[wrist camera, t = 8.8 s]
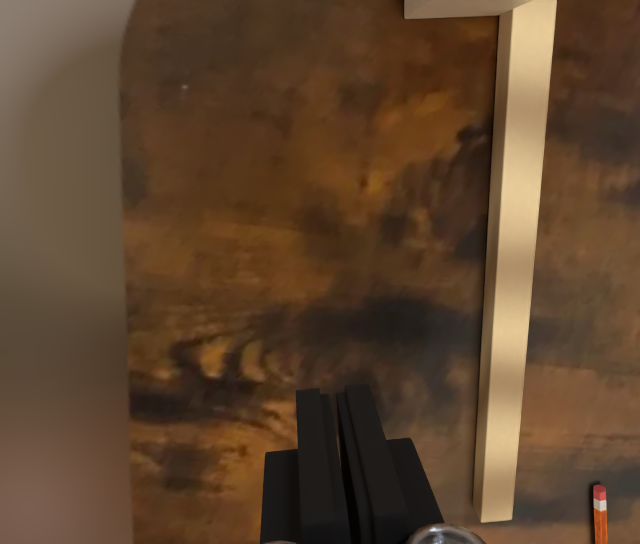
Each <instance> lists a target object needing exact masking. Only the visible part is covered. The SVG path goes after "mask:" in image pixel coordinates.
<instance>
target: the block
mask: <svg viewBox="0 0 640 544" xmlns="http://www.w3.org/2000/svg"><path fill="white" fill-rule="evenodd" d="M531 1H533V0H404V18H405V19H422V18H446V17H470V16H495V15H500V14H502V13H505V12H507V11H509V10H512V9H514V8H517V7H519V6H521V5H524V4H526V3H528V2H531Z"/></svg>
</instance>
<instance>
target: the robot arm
mask: <svg viewBox="0 0 640 544" xmlns="http://www.w3.org/2000/svg"><path fill="white" fill-rule="evenodd" d="M336 401H337V416H338V431H339V445H340V460H341V466H340V460H339V454H338V447H337V441H336V435H335V429H334V422H333V416H332V410H331V403H330V397H329V394H320V391H319V388H316V389H305V390H296V408H297V433H298V449H293V450H283V451H273V452H266V454H265V466H264V483H263V500H262V517H261V534H260V544H486V543H485V542H484V541H483V540H482V539H481V538H480V537H479V536H477V535H476V534H474V533H473V532H471V531H470V530H468V529H465V528H463V527H460V526H458V525H453V524H446V523H445V522H444V520H443V517H442V515H441V512H440V510H439V507H438V505H437V502H436V500H435V497H434V495H433V492H432V489H431V487H430V484H429V482H428V479H427V477H426V474H425V472H424V469H423V467H422V464H421V461H420V459H419V456H418V454H417V451H416V449H415V446H414V444H413V442H412V440H411V439H410V438H402V439H392V440H386V438H385V435H384V432H383V429H382V426H381V422H380V419H379V416H378V413H377V410H376V406H375V403H374V400H373V397H372V394H371V390H370V387H369V384H357V385H347V386H345V392H340V393H336Z"/></svg>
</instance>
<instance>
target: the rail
mask: <svg viewBox="0 0 640 544" xmlns="http://www.w3.org/2000/svg"><path fill="white" fill-rule="evenodd" d="M556 5H557V0H533V1H531V2H528V3H526V4H524V5H521V6H519V7H517V8H514V9H512V10H509V11H507V12H505V13H502V14H500V18H499V36H498V54H497V72H496V90H495V108H494V126H493V145H492V163H491V181H490V199H489V217H488V235H487V253H486V271H485V289H484V308H483V326H482V344H481V362H480V380H479V398H478V416H477V434H476V453H475V471H474V489H473V507H474V509H475V511H476V513H477V515H478V517H479V519H480V522H481V523H483V522H493V521H503V520H511V519H512V511H513V500H514V488H515V477H516V465H517V454H518V442H519V431H520V419H521V408H522V396H523V385H524V373H525V362H526V350H527V339H528V327H529V316H530V304H531V293H532V281H533V270H534V258H535V247H536V235H537V224H538V212H539V201H540V189H541V178H542V166H543V155H544V143H545V132H546V120H547V109H548V97H549V86H550V74H551V63H552V51H553V39H554V28H555V16H556Z"/></svg>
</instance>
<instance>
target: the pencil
mask: <svg viewBox="0 0 640 544" xmlns="http://www.w3.org/2000/svg"><path fill="white" fill-rule="evenodd" d="M593 493H594V519H595V544H607V518H606V488H605V487H603V486H601V485H594V486H593Z"/></svg>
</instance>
